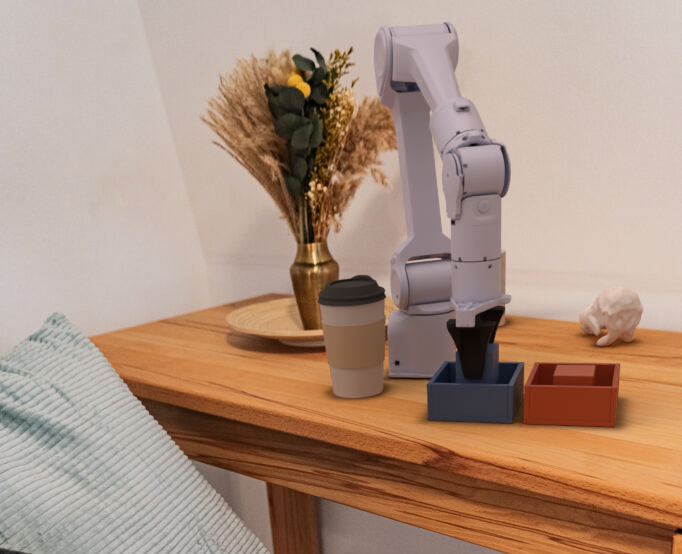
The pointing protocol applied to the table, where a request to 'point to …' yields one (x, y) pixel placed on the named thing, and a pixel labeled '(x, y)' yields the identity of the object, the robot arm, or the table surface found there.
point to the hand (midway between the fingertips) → (476, 372)
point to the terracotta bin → (571, 397)
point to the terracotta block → (574, 375)
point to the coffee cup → (354, 335)
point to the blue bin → (475, 395)
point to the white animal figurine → (613, 315)
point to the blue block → (489, 371)
